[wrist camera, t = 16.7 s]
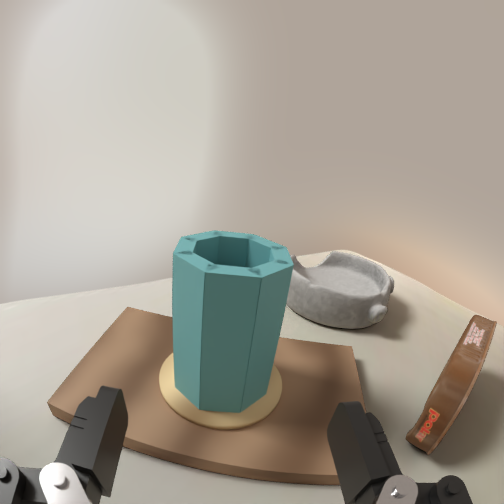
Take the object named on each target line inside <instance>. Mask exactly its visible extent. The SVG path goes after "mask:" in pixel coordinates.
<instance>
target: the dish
mask: <svg viewBox="0 0 504 504" xmlns="http://www.w3.org/2000/svg"><path fill="white" fill-rule="evenodd" d="M290 257H291V259H292V262H293V264H294V266H293V272H292V277H291V282H290V287H289V292H288V297H287V302H286V304H287V305H288V306H289V307H290V308H291V309H292V310H293V311H295V312H296V313H298V314H300V315H301V316H303V317H305V318H307V319H310V320H312V321H314V322H317V323H320V324H323V325H328V326H332V327H339V328H351V329H355V328H365V327H368V326H371V325H373V324H374V323H378V322H379V321H381V320H382V319H383V317H384V315H385V314H386V312H387V309H388V308H387V307H386V306H387V303H388V300H389V296H390V293H392V292H393V289H394V280H393V278H392V277H391V276H388V274H387V273H386V271H385V270H384V269H383V268H382V267H381V266H379V265H377V264H376V263H374V262H372V261H369V260H367V259H364V258H361V257H358V256H355V255H352V254H347V253H342V252H337V251H332V252H331V253H330V254H329V255H328V256H327V257H326V258H325V259H324V260H323V261H322V262H321V263H320V264H318V265H316V266H314V267H309V268H305V267H303V266H302V265H301V264H300V263H299V262H298V261H297V259H296V256H295V255H290Z"/></svg>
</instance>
